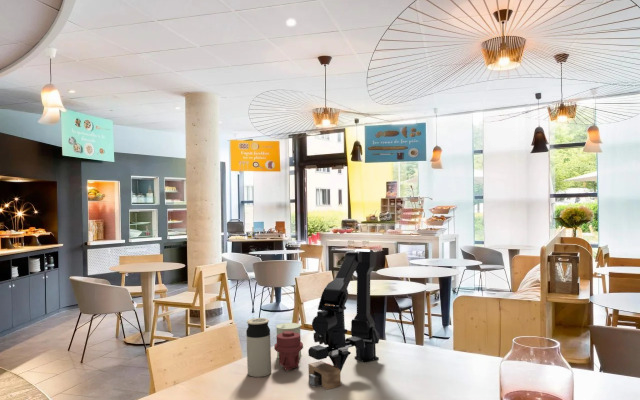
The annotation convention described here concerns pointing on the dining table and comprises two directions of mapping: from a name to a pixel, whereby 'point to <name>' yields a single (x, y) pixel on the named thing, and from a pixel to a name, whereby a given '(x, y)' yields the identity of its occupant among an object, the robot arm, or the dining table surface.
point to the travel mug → (258, 347)
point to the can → (288, 327)
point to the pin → (317, 378)
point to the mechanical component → (288, 349)
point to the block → (326, 374)
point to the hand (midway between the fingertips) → (338, 373)
